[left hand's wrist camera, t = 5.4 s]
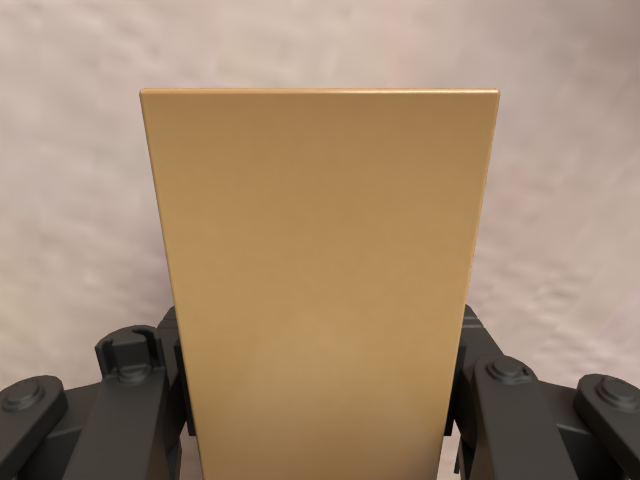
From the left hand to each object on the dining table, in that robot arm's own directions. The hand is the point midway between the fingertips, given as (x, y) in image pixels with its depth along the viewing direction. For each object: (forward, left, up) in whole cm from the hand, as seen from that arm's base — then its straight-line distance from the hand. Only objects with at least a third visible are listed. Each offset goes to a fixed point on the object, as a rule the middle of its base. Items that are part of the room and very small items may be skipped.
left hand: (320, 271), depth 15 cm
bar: (+14, -15, -1) cm, 20 cm away
